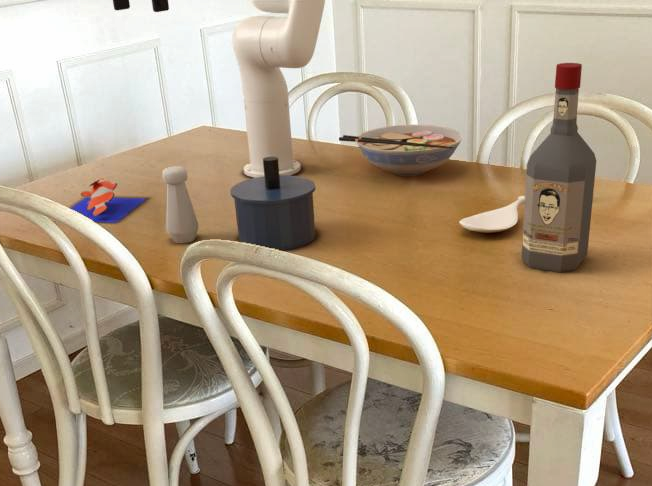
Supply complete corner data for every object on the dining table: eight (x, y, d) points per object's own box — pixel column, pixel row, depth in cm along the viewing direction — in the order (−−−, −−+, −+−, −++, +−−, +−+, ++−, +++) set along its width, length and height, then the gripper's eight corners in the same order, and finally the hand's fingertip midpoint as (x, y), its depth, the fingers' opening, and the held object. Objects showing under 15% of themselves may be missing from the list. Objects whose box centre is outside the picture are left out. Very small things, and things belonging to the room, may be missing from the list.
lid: (235, 183, 160) (232, 149, 157) (316, 180, 160) (314, 145, 156) (226, 209, 147) (222, 172, 144) (314, 205, 147) (312, 168, 144)
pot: (243, 226, 163) (238, 181, 159) (316, 223, 163) (313, 177, 159) (235, 252, 152) (230, 204, 147) (314, 249, 151) (310, 201, 147)
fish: (90, 173, 179) (128, 174, 178) (94, 196, 182) (132, 197, 180) (59, 193, 168) (101, 193, 167) (65, 217, 171) (105, 218, 169)
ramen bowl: (482, 162, 193) (484, 124, 189) (442, 192, 176) (442, 151, 172) (380, 153, 203) (379, 117, 199) (333, 180, 186) (330, 141, 182)
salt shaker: (169, 235, 161) (158, 164, 154) (200, 232, 161) (191, 162, 155) (166, 246, 156) (155, 173, 149) (198, 243, 156) (189, 171, 150)
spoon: (591, 198, 168) (593, 180, 167) (489, 245, 149) (490, 225, 148) (551, 190, 174) (552, 172, 172) (448, 233, 155) (448, 214, 153)
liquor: (536, 247, 147) (549, 58, 132) (590, 255, 143) (609, 60, 128) (516, 266, 141) (527, 69, 125) (572, 275, 136) (590, 72, 121)
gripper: (178, -107, 142) (192, 9, 150) (106, -103, 151) (123, 6, 159) (144, -105, 137) (161, 14, 145) (72, -101, 145) (91, 11, 154)
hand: (141, 10), depth 152 cm, fingers open, 9 cm apart
